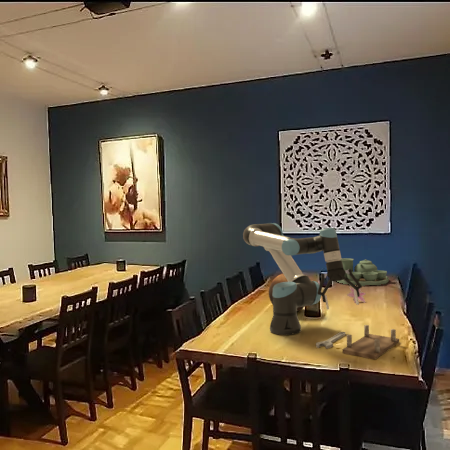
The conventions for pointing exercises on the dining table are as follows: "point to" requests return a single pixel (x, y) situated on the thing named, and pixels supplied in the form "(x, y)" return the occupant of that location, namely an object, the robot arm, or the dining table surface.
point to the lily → (354, 295)
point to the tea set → (364, 273)
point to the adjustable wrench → (330, 340)
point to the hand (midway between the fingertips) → (342, 307)
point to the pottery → (277, 280)
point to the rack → (370, 344)
